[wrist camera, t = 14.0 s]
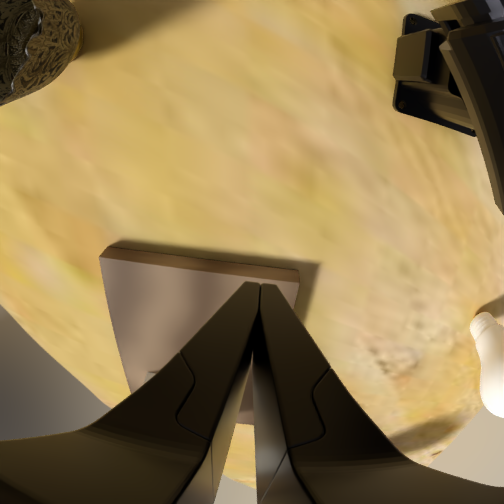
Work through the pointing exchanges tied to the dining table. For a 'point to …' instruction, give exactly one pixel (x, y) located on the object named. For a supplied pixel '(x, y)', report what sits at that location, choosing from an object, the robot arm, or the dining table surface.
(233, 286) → the board
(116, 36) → the dining table surface
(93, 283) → the dining table surface
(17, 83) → the dark bronze hollow piece
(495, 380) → the lightbulb
